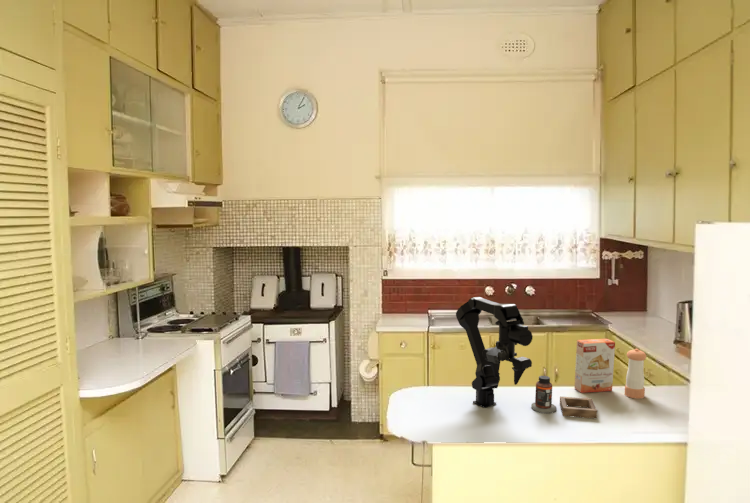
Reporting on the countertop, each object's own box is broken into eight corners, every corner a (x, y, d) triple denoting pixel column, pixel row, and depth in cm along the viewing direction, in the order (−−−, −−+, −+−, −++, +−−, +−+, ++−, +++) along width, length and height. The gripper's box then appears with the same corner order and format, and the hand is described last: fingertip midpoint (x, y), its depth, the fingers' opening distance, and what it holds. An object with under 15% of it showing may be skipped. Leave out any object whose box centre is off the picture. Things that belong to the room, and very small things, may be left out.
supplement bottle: (552, 409, 208) (553, 380, 207) (535, 408, 209) (536, 379, 208) (550, 403, 214) (551, 375, 212) (534, 402, 215) (535, 374, 214)
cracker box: (581, 393, 226) (583, 343, 224) (573, 388, 232) (575, 339, 230) (613, 391, 228) (615, 341, 226) (604, 386, 234) (607, 337, 232)
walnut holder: (562, 415, 204) (563, 408, 204) (559, 403, 216) (559, 396, 215) (596, 418, 202) (597, 410, 202) (591, 406, 213) (591, 398, 213)
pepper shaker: (642, 392, 227) (644, 346, 225) (646, 399, 220) (649, 351, 218) (622, 391, 229) (625, 345, 226) (626, 397, 222) (628, 350, 219)
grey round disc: (526, 407, 212) (526, 405, 212) (541, 402, 218) (541, 400, 217) (546, 415, 205) (546, 413, 205) (561, 409, 210) (561, 407, 210)
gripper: (472, 336, 205) (471, 378, 207) (511, 348, 190) (510, 393, 191) (493, 332, 211) (492, 372, 213) (533, 343, 196) (532, 386, 198)
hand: (505, 380), depth 204 cm, fingers open, 9 cm apart
